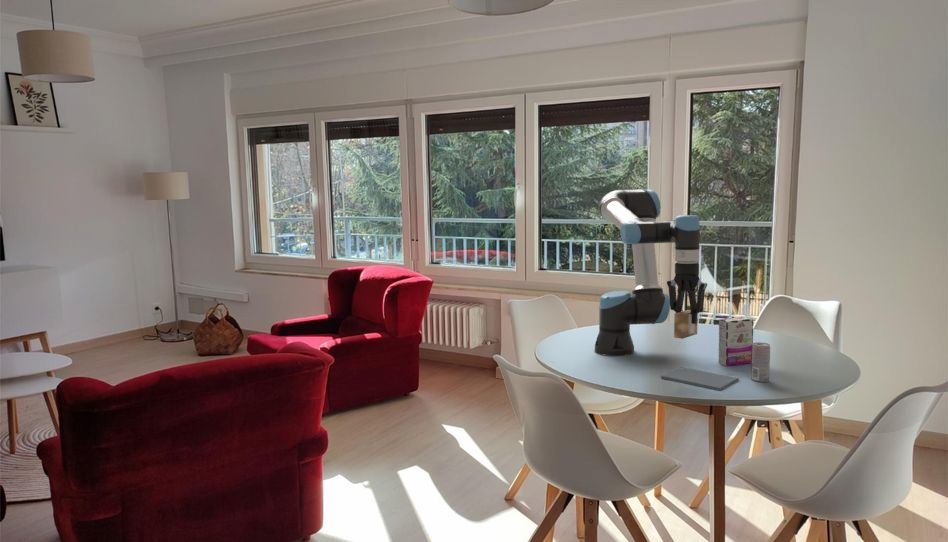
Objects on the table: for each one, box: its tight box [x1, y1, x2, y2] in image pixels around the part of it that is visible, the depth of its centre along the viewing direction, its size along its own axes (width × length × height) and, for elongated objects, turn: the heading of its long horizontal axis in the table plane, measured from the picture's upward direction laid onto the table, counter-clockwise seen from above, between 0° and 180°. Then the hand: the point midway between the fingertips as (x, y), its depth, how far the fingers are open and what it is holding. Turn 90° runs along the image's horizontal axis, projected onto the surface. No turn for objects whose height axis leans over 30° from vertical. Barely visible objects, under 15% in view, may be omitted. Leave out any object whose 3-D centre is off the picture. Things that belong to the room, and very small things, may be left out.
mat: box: [661, 366, 740, 391], centre depth 207 cm, size 20×14×1 cm
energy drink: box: [750, 342, 771, 383], centre depth 204 cm, size 5×5×12 cm
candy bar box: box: [718, 316, 754, 367], centre depth 224 cm, size 11×5×16 cm, turn 105°
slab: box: [673, 309, 699, 339], centre depth 208 cm, size 3×10×8 cm, turn 134°
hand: (686, 332), depth 208 cm, fingers closed on slab, 3 cm apart
